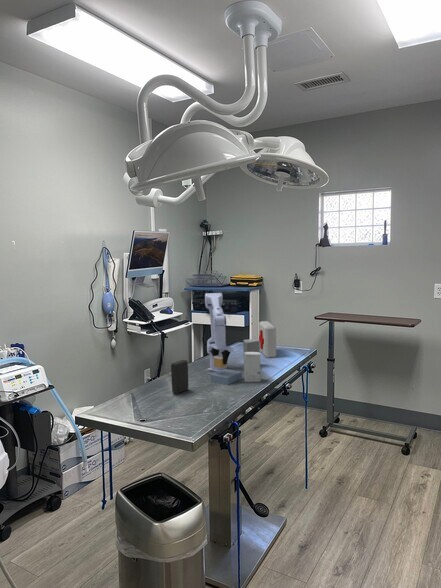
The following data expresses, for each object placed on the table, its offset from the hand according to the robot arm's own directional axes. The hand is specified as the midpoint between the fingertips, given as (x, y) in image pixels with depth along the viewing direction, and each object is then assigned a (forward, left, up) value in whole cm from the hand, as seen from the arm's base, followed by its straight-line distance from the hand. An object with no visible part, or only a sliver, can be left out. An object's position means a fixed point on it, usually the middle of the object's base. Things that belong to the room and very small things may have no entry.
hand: (220, 363), depth 231 cm
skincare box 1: (-31, 0, -9) cm, 32 cm away
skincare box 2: (-8, +15, -9) cm, 19 cm away
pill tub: (0, 0, -2) cm, 2 cm away
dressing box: (-2, +2, -9) cm, 10 cm away
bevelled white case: (-60, -7, -9) cm, 61 cm away
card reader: (+25, -6, -9) cm, 28 cm away
